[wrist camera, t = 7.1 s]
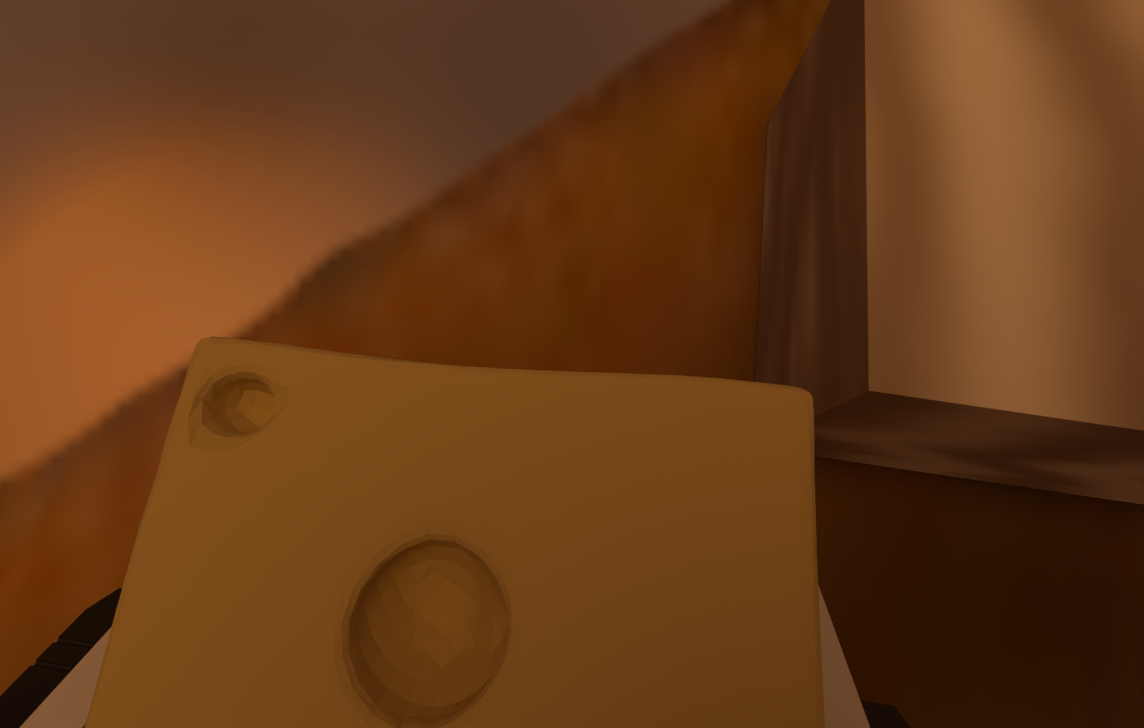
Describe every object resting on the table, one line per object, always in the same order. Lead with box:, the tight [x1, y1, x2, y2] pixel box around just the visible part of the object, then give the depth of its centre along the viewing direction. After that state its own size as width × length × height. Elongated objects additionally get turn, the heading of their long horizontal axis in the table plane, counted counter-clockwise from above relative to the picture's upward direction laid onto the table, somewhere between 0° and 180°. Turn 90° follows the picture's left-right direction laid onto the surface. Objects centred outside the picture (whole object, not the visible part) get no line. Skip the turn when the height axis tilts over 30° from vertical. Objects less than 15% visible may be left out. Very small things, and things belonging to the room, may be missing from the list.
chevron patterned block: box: [755, 0, 1144, 505], centre depth 19 cm, size 14×14×8 cm
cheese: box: [85, 337, 825, 728], centre depth 12 cm, size 10×11×10 cm
